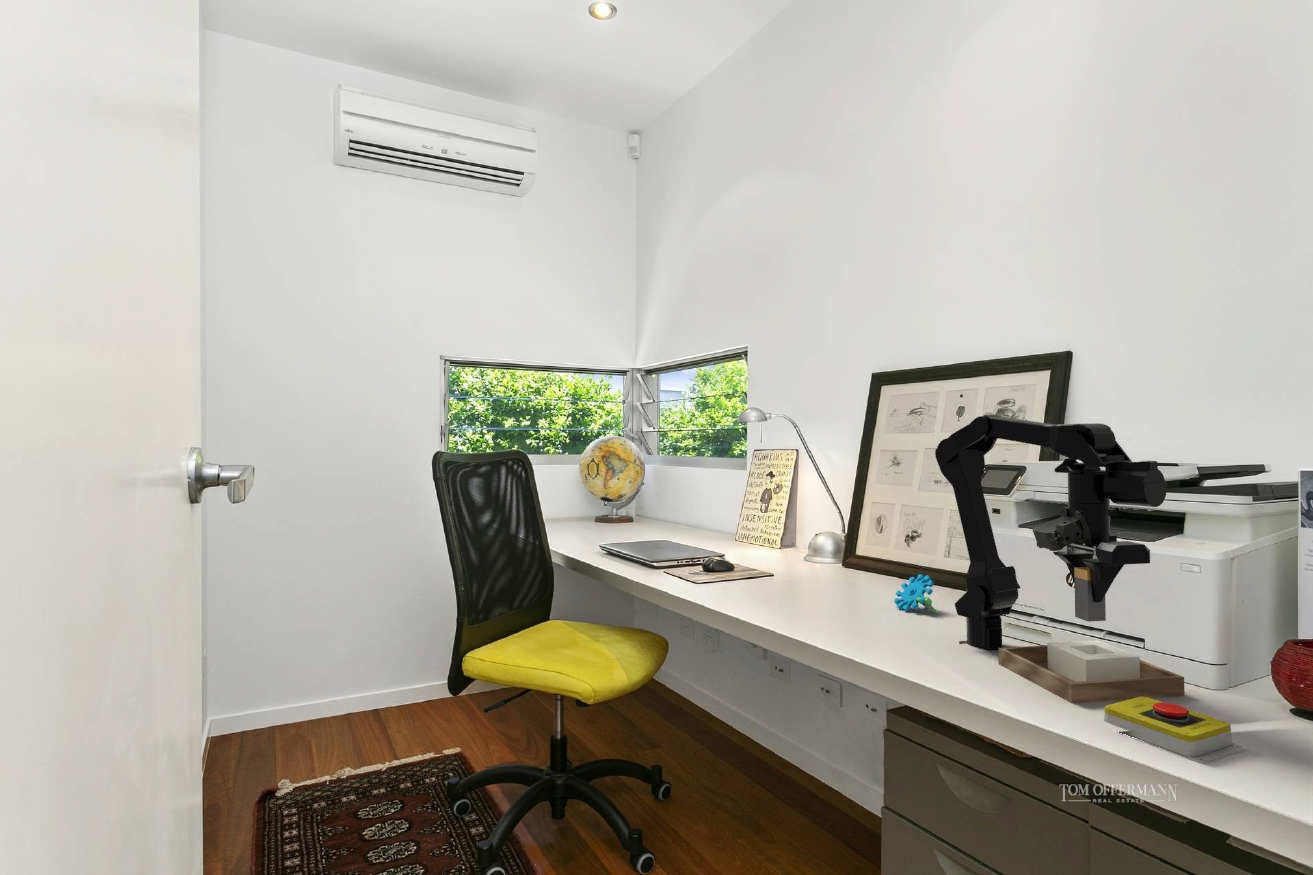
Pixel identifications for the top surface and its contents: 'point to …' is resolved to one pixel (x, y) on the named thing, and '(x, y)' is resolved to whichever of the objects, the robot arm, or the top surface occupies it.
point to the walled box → (1035, 669)
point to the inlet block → (1092, 661)
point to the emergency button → (1173, 728)
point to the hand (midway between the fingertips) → (1090, 599)
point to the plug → (1087, 597)
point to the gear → (915, 593)
